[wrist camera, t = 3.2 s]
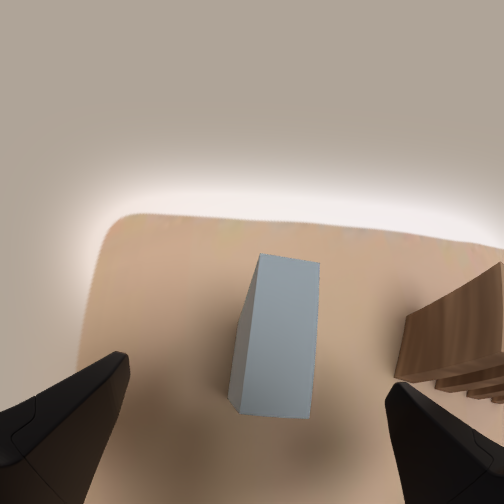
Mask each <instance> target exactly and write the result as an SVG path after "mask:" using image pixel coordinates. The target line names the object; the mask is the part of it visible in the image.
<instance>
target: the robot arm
mask: <svg viewBox="0 0 504 504" xmlns="http://www.w3.org/2000/svg"><path fill="white" fill-rule="evenodd" d="M129 379H130V366H129V357H128V355H127V354H126V353H122V352H119V351H115V352H113V353H111V354H109V355H107V356H106V357H104V358H102V359H100V360H99V361H97V362H95V363H93V364H91V365H90V366H88V367H86V368H84V369H82V370H81V371H79V372H77V373H75V374H73V375H72V376H70V377H68V378H66V379H64V380H63V381H61V382H59V383H57V384H55V385H54V386H52V387H50V388H48V389H46V390H44V391H42V392H41V393H39V394H37V395H36V396H33V397H31V398H29V399H28V400H26V401H24V402H22V403H20V404H18V405H16V406H13V407H11V408H9V409H6V410H4V411H2V412H0V504H83V503H84V501H85V498H86V495H87V492H88V490H89V487H90V485H91V482H92V479H93V477H94V474H95V472H96V469H97V466H98V464H99V461H100V459H101V456H102V454H103V452H104V449H105V447H106V444H107V442H108V440H109V437H110V435H111V432H112V430H113V428H114V425H115V423H116V421H117V418H118V415H119V412H120V409H121V405H122V402H123V399H124V395H125V392H126V389H127V386H128V382H129ZM385 408H386V414H387V420H388V427H389V433H390V439H391V443H392V447H393V451H394V455H395V459H396V463H397V468H398V472H399V476H400V481H401V485H402V490H403V495H404V500H405V504H504V447H502V446H501V445H499V444H497V443H495V442H493V441H492V440H490V439H488V438H487V437H485V436H483V435H482V434H480V433H479V432H477V431H476V430H474V429H472V428H471V427H470V426H469V425H467V424H466V423H464V422H463V421H461V420H460V419H458V418H457V417H455V416H454V415H452V414H451V413H450V412H448V411H447V410H445V409H444V408H442V407H441V406H439V405H438V404H437V403H435V402H434V401H432V400H431V399H429V398H428V397H427V396H425V395H424V394H422V393H421V392H419V391H418V390H417V389H415V388H414V387H412V386H411V385H409V384H408V383H406V382H397V383H395V384H394V385H393V387H392V388H391V390H390V392H389V393H388V395H387V397H386V399H385Z"/></svg>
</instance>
